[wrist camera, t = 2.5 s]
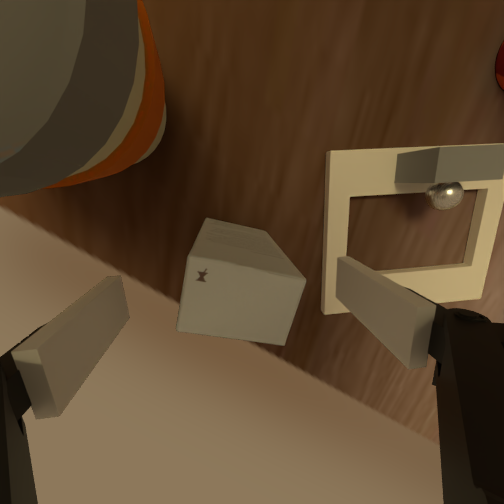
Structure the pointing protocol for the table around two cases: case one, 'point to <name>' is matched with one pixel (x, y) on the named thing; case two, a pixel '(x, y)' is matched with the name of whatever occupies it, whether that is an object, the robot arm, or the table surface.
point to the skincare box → (239, 285)
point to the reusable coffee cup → (76, 91)
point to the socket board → (415, 181)
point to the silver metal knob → (444, 195)
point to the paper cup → (500, 66)
